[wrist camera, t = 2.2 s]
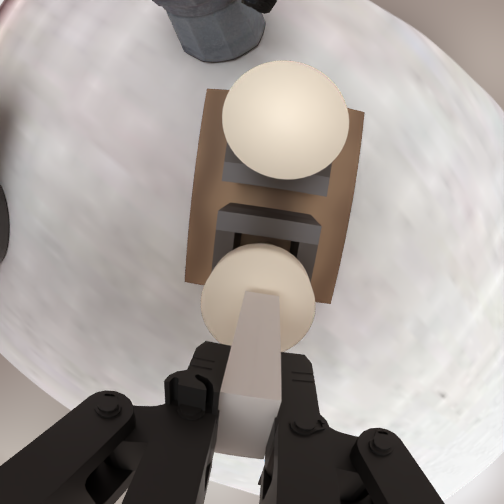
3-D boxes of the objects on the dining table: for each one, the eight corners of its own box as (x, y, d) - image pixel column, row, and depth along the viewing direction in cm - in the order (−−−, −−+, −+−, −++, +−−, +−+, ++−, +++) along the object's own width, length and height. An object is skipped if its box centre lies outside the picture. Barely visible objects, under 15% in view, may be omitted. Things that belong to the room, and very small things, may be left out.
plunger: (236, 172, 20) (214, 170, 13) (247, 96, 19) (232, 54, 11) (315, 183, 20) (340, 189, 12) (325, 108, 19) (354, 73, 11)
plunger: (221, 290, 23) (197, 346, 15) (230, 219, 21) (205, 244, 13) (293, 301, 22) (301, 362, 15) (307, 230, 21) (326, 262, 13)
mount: (191, 273, 30) (163, 308, 22) (212, 95, 25) (188, 66, 17) (326, 293, 30) (343, 335, 21) (356, 117, 25) (388, 96, 17)
